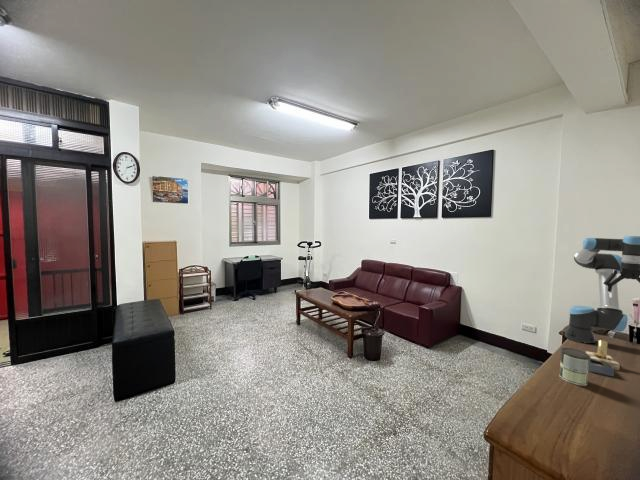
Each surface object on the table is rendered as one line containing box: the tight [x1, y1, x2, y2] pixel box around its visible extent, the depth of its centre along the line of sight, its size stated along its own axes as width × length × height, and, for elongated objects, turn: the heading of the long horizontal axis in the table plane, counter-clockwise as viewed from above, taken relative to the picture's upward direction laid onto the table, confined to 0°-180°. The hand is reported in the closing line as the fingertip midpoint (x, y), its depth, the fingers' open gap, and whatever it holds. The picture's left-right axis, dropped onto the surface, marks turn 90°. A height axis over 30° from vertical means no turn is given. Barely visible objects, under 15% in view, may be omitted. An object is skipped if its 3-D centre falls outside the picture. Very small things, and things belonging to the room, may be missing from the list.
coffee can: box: [558, 347, 590, 387], centre depth 130 cm, size 10×10×14 cm
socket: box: [588, 358, 615, 378], centre depth 142 cm, size 10×10×4 cm
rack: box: [585, 350, 621, 371], centre depth 149 cm, size 12×10×4 cm
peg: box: [596, 339, 609, 359], centre depth 149 cm, size 4×4×13 cm
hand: (627, 299), depth 151 cm, fingers open, 13 cm apart
